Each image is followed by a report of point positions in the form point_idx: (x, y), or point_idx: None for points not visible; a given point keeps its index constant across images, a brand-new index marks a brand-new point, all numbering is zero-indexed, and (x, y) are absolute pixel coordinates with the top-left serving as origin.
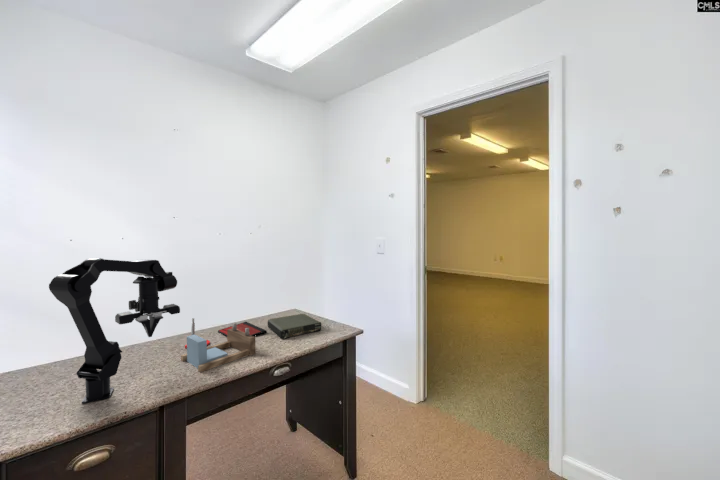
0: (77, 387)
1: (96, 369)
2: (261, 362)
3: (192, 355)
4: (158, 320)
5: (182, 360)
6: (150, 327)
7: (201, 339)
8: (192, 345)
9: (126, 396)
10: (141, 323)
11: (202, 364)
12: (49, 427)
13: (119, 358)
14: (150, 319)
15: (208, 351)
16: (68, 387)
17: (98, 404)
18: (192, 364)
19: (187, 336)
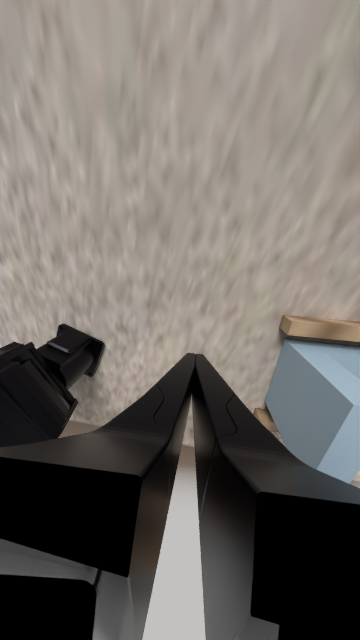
0: (41, 260)
1: (30, 347)
2: (355, 475)
3: (287, 392)
4: (257, 602)
5: (281, 325)
6: (198, 418)
7: (340, 477)
8: (308, 424)
9: (117, 390)
10: (103, 429)
11: (270, 424)
12: None
13: (55, 437)
14: (226, 512)
15: (354, 374)
16: (22, 239)
17: (78, 379)
18: (275, 371)
19: (354, 408)
